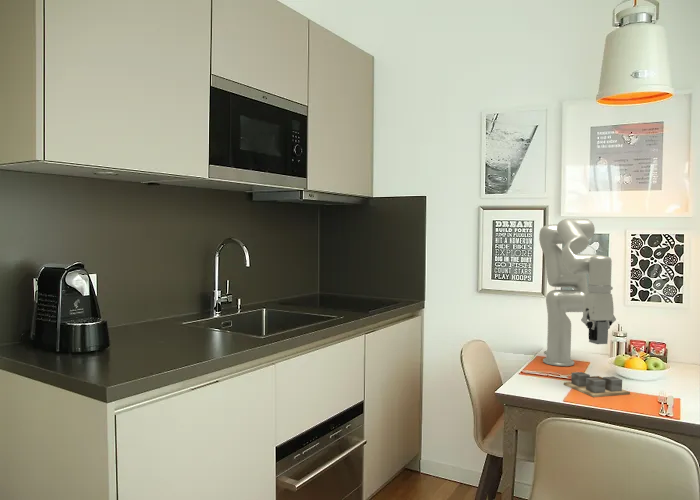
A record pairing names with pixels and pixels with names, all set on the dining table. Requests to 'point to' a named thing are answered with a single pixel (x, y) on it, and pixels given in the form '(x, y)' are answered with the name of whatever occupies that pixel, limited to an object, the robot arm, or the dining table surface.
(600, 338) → the dark gray rectangular block
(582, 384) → the board
